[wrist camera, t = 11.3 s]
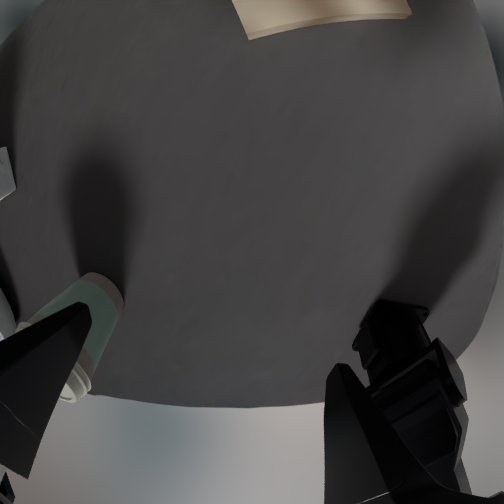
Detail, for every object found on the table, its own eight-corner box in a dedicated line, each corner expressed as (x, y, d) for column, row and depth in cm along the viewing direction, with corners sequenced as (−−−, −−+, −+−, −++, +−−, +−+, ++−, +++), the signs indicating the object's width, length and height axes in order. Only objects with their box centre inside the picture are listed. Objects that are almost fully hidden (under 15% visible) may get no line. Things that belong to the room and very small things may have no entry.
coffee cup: (89, 244, 23) (8, 321, 12) (149, 304, 26) (94, 400, 15) (64, 285, 26) (5, 352, 16) (114, 334, 29) (69, 411, 18)
